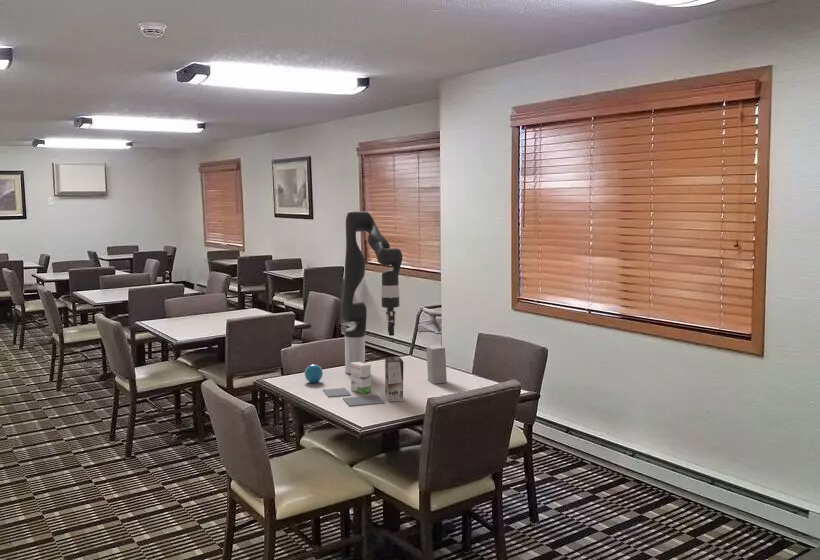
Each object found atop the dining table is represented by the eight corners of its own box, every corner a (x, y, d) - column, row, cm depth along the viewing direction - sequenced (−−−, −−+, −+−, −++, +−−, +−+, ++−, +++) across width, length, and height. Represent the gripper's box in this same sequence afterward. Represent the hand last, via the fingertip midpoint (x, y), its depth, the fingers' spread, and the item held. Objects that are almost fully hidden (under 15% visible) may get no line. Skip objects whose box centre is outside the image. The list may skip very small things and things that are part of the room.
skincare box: (447, 383, 302) (447, 348, 301) (431, 384, 300) (431, 348, 299) (440, 378, 310) (441, 344, 309) (425, 379, 308) (425, 345, 307)
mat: (322, 390, 289) (322, 389, 289) (367, 386, 296) (367, 385, 296) (336, 407, 265) (336, 406, 265) (385, 403, 271) (385, 402, 271)
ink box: (371, 392, 287) (371, 364, 286) (361, 394, 284) (361, 366, 283) (359, 388, 294) (359, 360, 293) (350, 389, 291) (349, 362, 289)
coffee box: (403, 401, 274) (403, 361, 272) (387, 401, 273) (387, 362, 271) (400, 395, 283) (400, 356, 281) (384, 395, 282) (384, 357, 280)
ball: (310, 379, 308) (310, 361, 307) (326, 381, 305) (326, 363, 304) (301, 383, 301) (300, 365, 300) (316, 385, 297) (316, 367, 297)
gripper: (380, 294, 296) (381, 331, 297) (382, 297, 282) (382, 336, 283) (398, 294, 297) (398, 331, 298) (400, 297, 283) (400, 336, 284)
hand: (391, 333), depth 291 cm, fingers open, 8 cm apart
